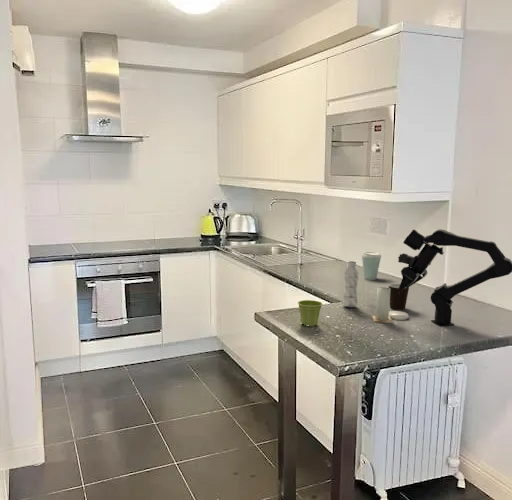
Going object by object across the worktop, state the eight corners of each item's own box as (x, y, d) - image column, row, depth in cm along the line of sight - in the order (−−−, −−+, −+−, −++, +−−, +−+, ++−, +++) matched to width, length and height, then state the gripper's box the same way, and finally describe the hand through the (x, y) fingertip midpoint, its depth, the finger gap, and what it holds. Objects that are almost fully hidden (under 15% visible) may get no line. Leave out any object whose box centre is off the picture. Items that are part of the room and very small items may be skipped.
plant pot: (296, 320, 204) (297, 299, 203) (320, 321, 204) (321, 300, 203) (297, 328, 195) (298, 305, 194) (322, 328, 195) (323, 306, 194)
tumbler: (390, 320, 206) (392, 289, 204) (379, 320, 205) (381, 289, 203) (384, 316, 211) (386, 286, 209) (373, 317, 209) (375, 286, 207)
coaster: (389, 318, 211) (389, 316, 211) (391, 323, 204) (391, 321, 204) (372, 317, 212) (372, 315, 212) (373, 322, 205) (373, 320, 205)
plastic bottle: (340, 308, 225) (343, 262, 221) (343, 304, 231) (345, 260, 228) (355, 309, 222) (358, 264, 219) (358, 305, 229) (360, 261, 226)
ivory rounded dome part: (411, 319, 209) (411, 315, 209) (393, 320, 208) (393, 316, 207) (401, 314, 217) (402, 310, 217) (384, 314, 215) (384, 311, 215)
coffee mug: (392, 304, 232) (393, 282, 231) (410, 308, 227) (412, 285, 225) (380, 309, 223) (382, 287, 222) (399, 313, 218) (401, 290, 216)
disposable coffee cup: (379, 277, 291) (380, 251, 288) (380, 281, 280) (382, 254, 278) (360, 276, 292) (361, 250, 290) (360, 280, 282) (362, 253, 280)
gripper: (414, 245, 215) (393, 275, 221) (401, 246, 199) (379, 278, 205) (437, 260, 211) (414, 290, 216) (426, 263, 195) (402, 296, 200)
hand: (402, 288), depth 209 cm, fingers open, 9 cm apart
